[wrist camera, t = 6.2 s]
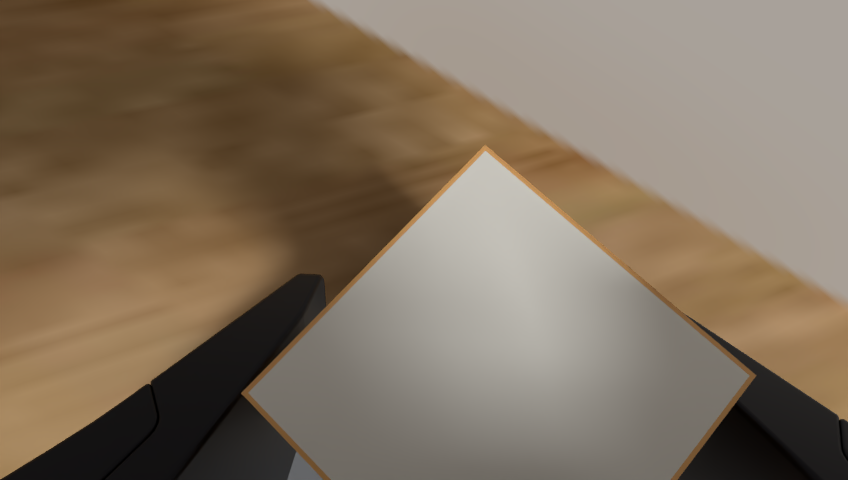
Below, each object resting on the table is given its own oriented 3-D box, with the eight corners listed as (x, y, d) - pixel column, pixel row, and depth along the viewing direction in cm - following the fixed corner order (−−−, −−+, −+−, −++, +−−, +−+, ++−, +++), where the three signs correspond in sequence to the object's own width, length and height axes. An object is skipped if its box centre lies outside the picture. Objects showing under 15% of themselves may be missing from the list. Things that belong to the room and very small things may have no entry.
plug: (534, 376, 16) (757, 375, 6) (450, 473, 16) (521, 685, 5) (443, 291, 17) (485, 145, 6) (359, 382, 16) (241, 393, 5)
